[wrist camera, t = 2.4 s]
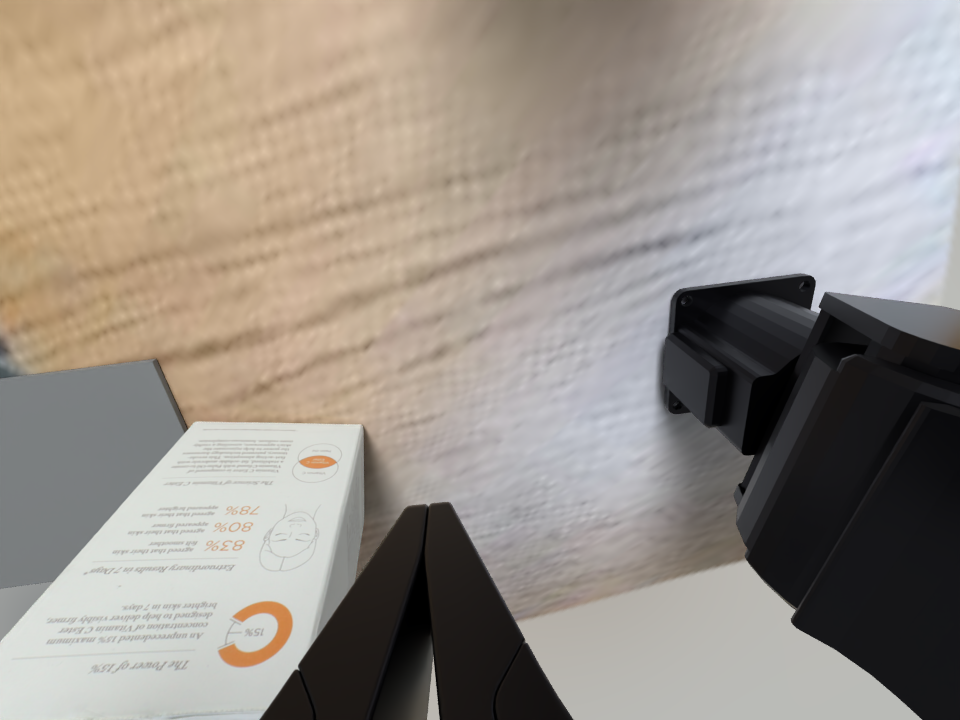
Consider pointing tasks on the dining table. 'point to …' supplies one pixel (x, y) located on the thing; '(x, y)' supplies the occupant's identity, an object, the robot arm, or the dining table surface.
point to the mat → (75, 458)
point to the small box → (198, 582)
